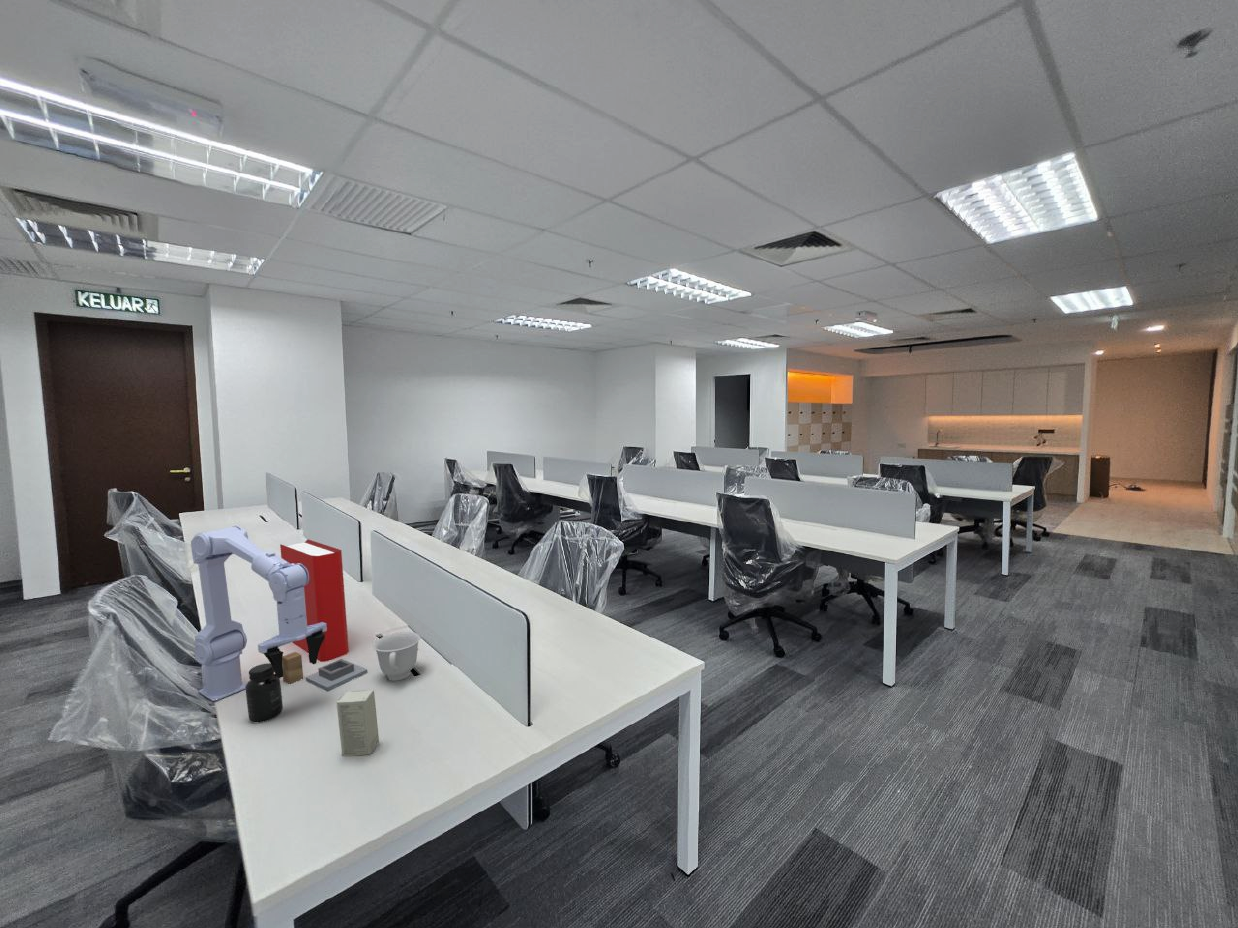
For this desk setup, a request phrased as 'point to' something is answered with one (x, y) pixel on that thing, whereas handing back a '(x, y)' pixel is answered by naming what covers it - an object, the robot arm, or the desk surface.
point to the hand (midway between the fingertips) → (296, 669)
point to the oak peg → (292, 667)
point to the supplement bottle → (263, 694)
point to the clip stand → (335, 674)
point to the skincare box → (357, 722)
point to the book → (322, 594)
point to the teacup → (397, 654)
